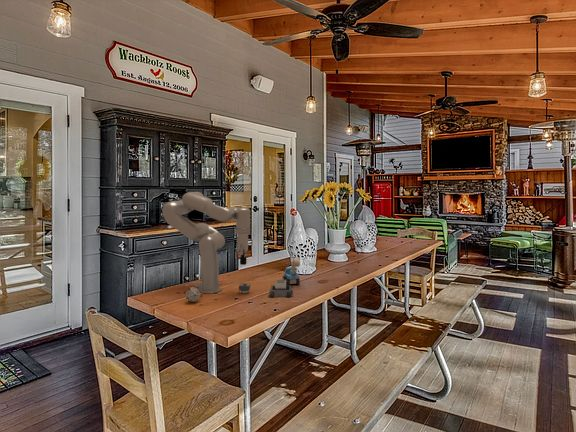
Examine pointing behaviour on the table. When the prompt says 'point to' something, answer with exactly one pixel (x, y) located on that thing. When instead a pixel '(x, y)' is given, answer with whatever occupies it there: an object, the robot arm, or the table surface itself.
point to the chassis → (280, 292)
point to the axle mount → (244, 291)
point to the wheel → (244, 286)
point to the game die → (193, 294)
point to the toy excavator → (292, 273)
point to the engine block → (280, 284)
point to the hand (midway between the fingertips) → (243, 264)
